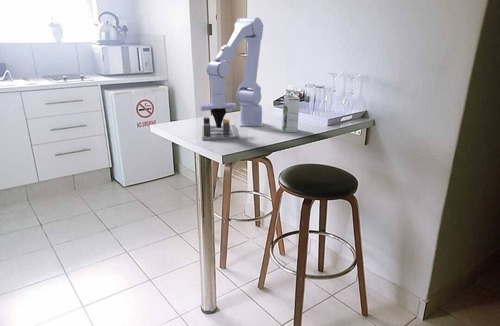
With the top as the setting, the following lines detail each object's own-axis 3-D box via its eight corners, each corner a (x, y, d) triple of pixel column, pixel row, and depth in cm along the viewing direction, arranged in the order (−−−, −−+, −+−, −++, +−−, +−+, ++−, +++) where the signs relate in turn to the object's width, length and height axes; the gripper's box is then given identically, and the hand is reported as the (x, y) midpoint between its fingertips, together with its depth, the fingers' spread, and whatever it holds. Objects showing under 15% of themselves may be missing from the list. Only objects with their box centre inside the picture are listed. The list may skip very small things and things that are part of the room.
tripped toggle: (228, 128, 147) (228, 118, 146) (229, 130, 144) (229, 120, 143) (223, 128, 147) (222, 119, 145) (223, 130, 144) (223, 120, 142)
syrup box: (281, 128, 154) (283, 94, 149) (295, 128, 154) (297, 94, 149) (283, 132, 148) (285, 97, 144) (298, 132, 149) (300, 97, 144)
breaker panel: (234, 127, 155) (234, 115, 153) (239, 139, 138) (239, 126, 136) (202, 128, 153) (201, 116, 151) (202, 140, 136) (201, 126, 135)
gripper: (231, 90, 146) (232, 123, 151) (197, 92, 141) (198, 126, 145) (238, 93, 140) (238, 127, 145) (202, 95, 135) (203, 130, 139)
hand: (218, 127), depth 145 cm, fingers closed
